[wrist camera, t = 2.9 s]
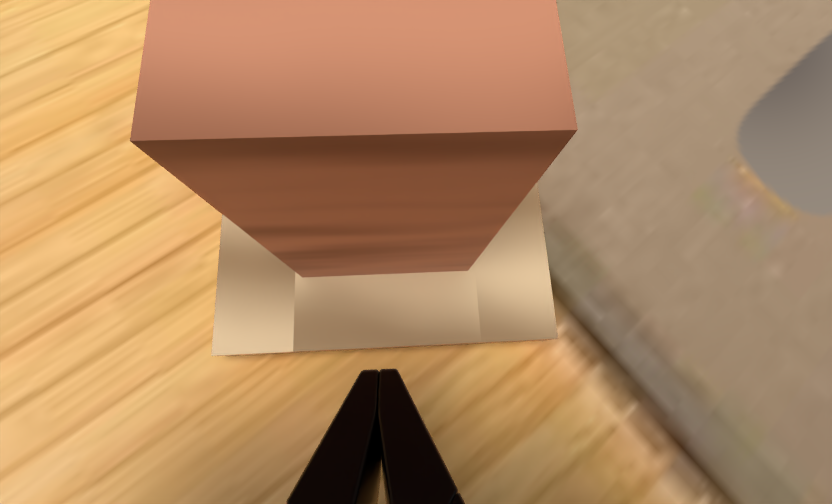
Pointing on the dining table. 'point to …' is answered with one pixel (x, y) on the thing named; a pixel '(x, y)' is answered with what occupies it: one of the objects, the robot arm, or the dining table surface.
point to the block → (357, 122)
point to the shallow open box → (385, 298)
